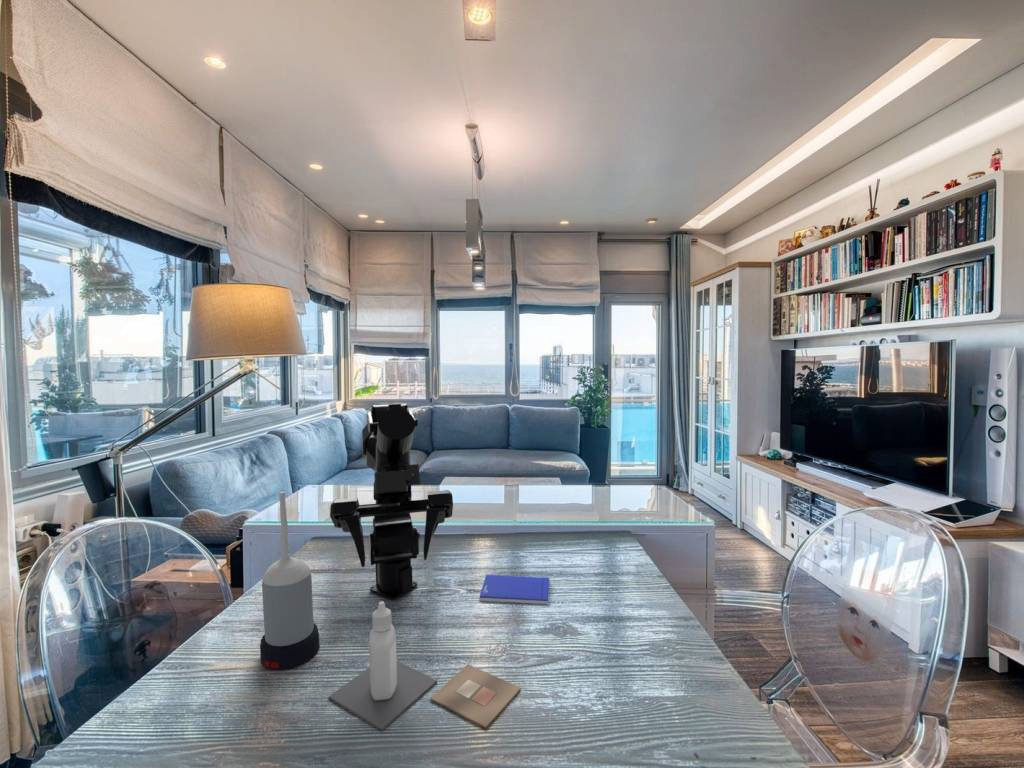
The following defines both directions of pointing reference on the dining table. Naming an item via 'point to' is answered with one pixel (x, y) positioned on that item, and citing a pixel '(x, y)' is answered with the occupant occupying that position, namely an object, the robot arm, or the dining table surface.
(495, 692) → the board
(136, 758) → the dining table surface
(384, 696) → the eye dropper bottle
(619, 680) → the dining table surface
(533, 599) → the hard drive
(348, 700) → the mat
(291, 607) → the humidifier
